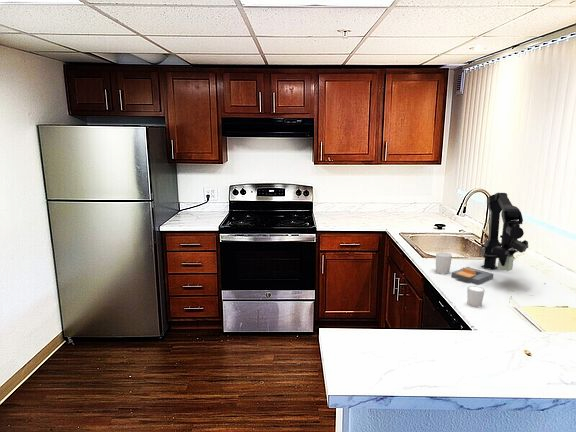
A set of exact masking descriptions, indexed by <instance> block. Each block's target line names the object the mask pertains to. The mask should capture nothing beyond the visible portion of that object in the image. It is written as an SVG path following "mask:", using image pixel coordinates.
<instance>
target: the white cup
mask: <svg viewBox="0 0 576 432" xmlns="http://www.w3.org/2000/svg"><path fill="white" fill-rule="evenodd" d="M452 256H453V254H452V253H449V252H444V251H438V252H435V272H436V273H438V274H440V275H441V274H442V275H449V274H450V269H451V264H452Z"/></svg>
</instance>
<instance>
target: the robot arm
mask: <svg viewBox="0 0 576 432" xmlns="http://www.w3.org/2000/svg"><path fill="white" fill-rule="evenodd" d="M486 205H487V209H488V210H489V212H490V218H489V228H488V229H489V231H488V239H487V240H486V241H485V243H484V246H483V248H482V250H481V256H482V257H483V258H484V261H483V265H482V264H481V266H480V267H481V268H484V269H487V270H495V269H498V265H496V264H497V259H498V261H499V260H500V262H501V265H502V266H504V265H505V262H506V258H507V256H508V255H513V256H514V254H516V253H524V252H526V251H527V249H529V245H530V244H529V241H528V240H526V239H525V240H523V241H522V240H519V239H521V238H522V237H523V236H524V234H525V232H524V230H523V228H521V225H523V222H524V219H523V214H522V211H521V210H520V209H519V208H518V207H517V206H515V205H513V204H512V202H511V200H510V199H509V197H508V193H506V192H496V193H494V194H491V195H489V196H488V197H487V198H486ZM500 217H501V220H502V223H503V224H502V232H501V235H500V236H499V234H500V233H499V231H500ZM499 238H501V241H499ZM508 251H509V253H508Z"/></svg>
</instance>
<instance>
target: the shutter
mask: <svg viewBox="0 0 576 432" xmlns="http://www.w3.org/2000/svg"><path fill="white" fill-rule="evenodd" d="M462 269H463V270H462V271H461V272H458V273H456V274H457V275H460V276H463V277H467V278H471V277H474V276H476V271H475V270H471V269H468V268H465V267H462Z"/></svg>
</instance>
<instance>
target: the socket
mask: <svg viewBox="0 0 576 432" xmlns="http://www.w3.org/2000/svg"><path fill="white" fill-rule="evenodd" d="M464 268H468V269H471V270H475V271H476V276H474V277H471V278H467V277H463V276H460V275H457V274H456V273H458V272H461V271H462V270H463V268H460V269H457V270H454V271H452V272H451V276H450V277H451V278H453V279H457V280H460V281H463V282H467V283H470V284H474V285H475V286H479V285H482V284H484V283H486V282H489V281H491V280H494V273H491V272H489V271H484V270H480V269H476V268H474V267H470V266H466V267H464Z"/></svg>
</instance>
